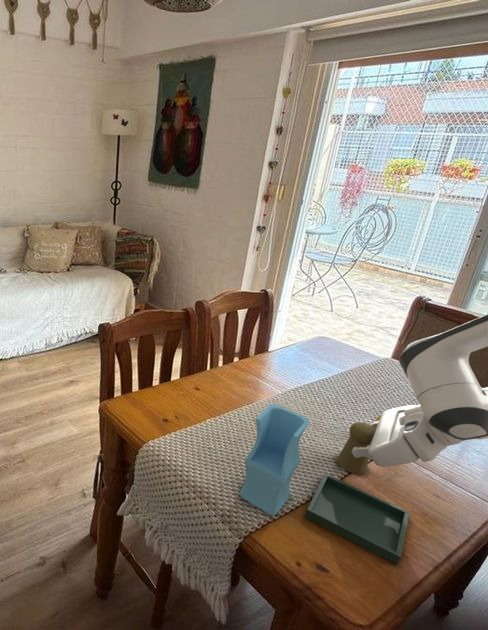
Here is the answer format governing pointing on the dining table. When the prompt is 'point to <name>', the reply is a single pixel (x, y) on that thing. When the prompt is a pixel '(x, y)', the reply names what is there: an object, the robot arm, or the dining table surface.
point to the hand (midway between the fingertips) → (357, 442)
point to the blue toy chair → (273, 458)
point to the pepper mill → (358, 437)
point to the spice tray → (360, 517)
